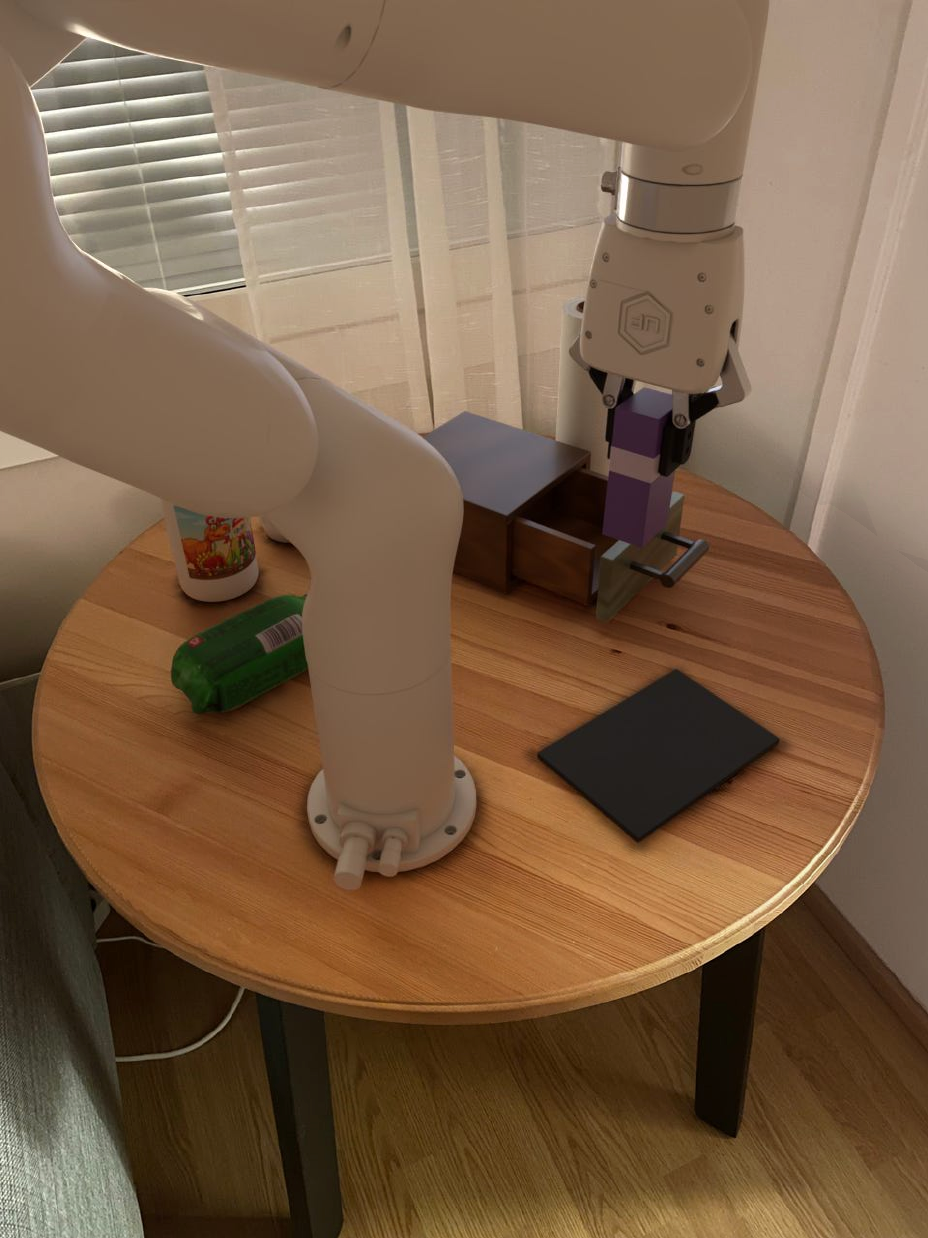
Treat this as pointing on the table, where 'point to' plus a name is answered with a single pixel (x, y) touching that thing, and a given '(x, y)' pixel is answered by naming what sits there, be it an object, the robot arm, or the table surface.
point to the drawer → (594, 547)
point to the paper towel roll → (579, 396)
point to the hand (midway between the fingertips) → (645, 458)
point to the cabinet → (498, 487)
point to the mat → (657, 753)
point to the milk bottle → (211, 553)
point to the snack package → (242, 656)
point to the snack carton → (638, 469)
